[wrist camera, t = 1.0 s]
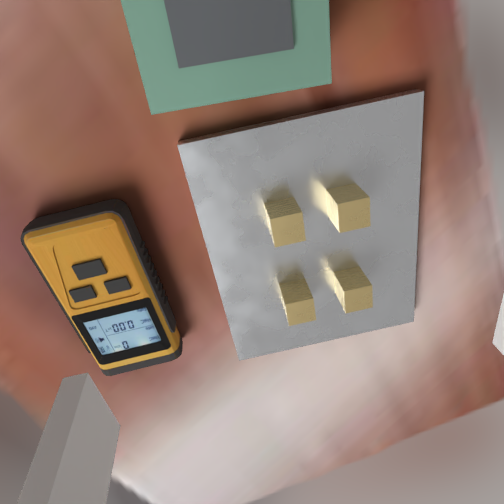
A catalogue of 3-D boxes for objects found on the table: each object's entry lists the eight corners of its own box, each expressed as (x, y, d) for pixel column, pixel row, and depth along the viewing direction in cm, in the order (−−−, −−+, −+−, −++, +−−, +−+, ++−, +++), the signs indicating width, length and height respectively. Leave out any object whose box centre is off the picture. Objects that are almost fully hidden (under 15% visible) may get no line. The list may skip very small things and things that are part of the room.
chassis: (178, 141, 28) (175, 157, 25) (415, 88, 28) (447, 97, 25) (238, 352, 39) (242, 384, 36) (408, 313, 40) (429, 342, 36)
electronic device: (128, 190, 30) (121, 207, 27) (186, 335, 38) (186, 359, 35) (25, 216, 30) (7, 236, 27) (105, 355, 38) (97, 382, 35)
